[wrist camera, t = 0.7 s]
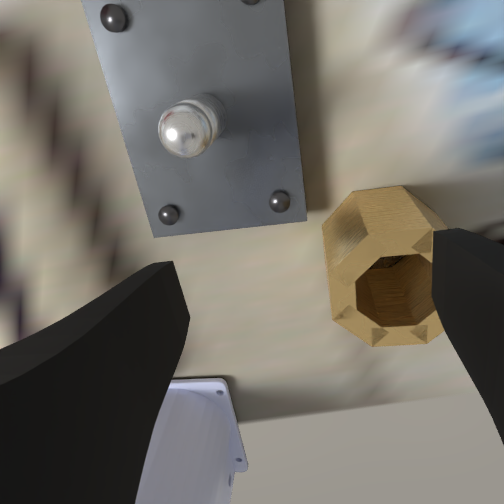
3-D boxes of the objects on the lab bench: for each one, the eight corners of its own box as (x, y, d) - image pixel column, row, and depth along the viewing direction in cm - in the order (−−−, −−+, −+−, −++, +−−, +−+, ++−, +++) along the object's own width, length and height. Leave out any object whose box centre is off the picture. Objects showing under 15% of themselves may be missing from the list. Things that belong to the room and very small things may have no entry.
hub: (432, 280, 21) (467, 341, 17) (327, 288, 22) (335, 348, 18) (437, 181, 19) (479, 222, 14) (319, 195, 20) (325, 238, 15)
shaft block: (306, 211, 20) (309, 262, 15) (161, 228, 21) (121, 280, 17) (278, -50, 15) (269, -94, 10) (91, -7, 17) (8, -28, 12)
